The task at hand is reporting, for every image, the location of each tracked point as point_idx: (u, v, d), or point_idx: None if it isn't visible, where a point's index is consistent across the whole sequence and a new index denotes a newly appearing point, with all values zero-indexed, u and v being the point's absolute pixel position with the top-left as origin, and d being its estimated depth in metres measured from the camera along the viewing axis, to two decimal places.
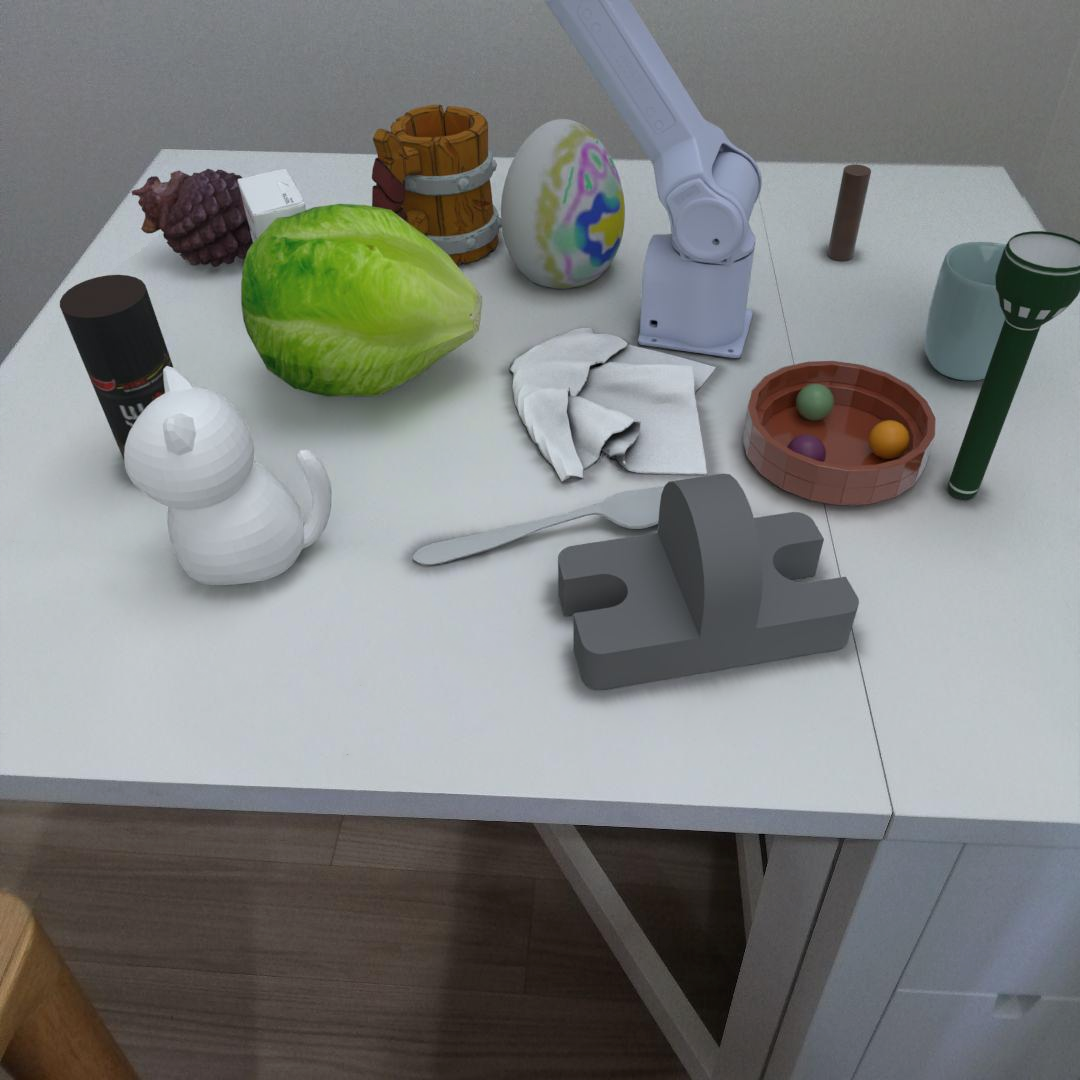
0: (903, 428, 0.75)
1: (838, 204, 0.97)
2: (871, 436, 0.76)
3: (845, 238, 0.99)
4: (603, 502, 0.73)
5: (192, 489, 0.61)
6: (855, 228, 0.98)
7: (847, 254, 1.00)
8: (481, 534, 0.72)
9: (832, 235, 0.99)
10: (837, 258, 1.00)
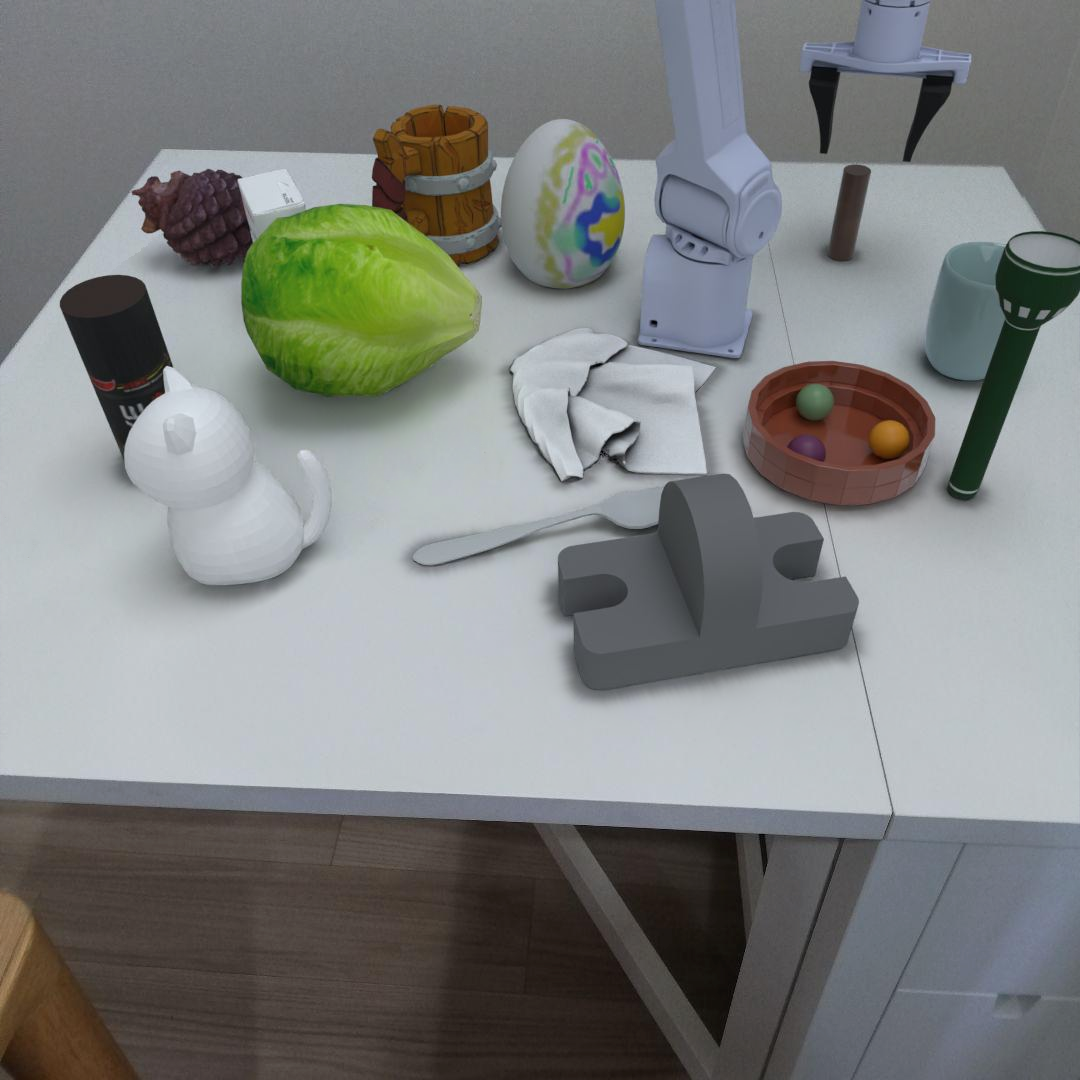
0: (903, 428, 0.75)
1: (838, 204, 0.97)
2: (871, 436, 0.76)
3: (845, 238, 0.99)
4: (603, 502, 0.73)
5: (193, 489, 0.61)
6: (855, 228, 0.98)
7: (847, 254, 1.00)
8: (481, 534, 0.72)
9: (832, 235, 0.99)
10: (837, 258, 1.00)
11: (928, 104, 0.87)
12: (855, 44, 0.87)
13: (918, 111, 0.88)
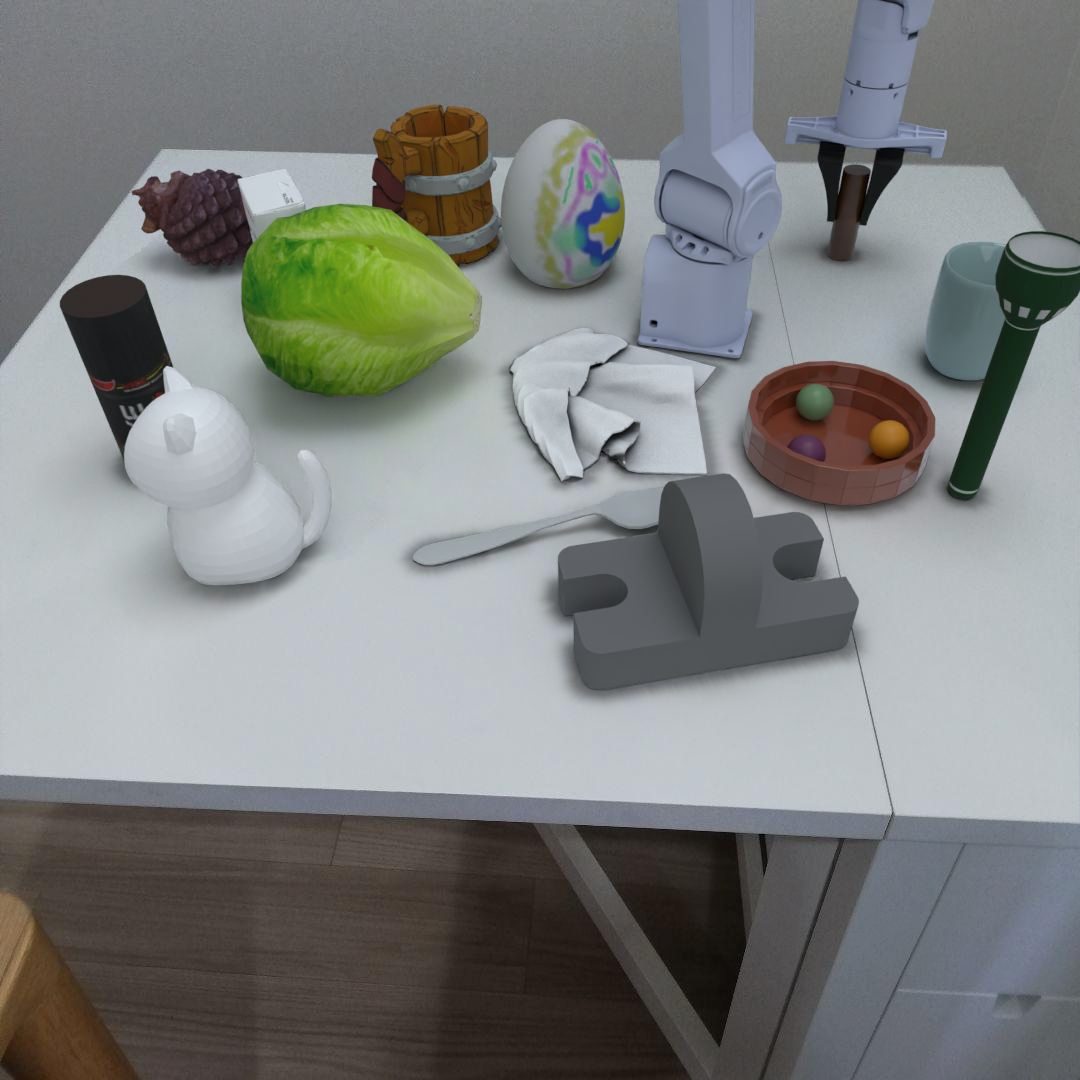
0: (903, 428, 0.75)
1: (838, 204, 0.97)
2: (871, 436, 0.76)
3: (844, 238, 0.99)
4: (603, 502, 0.73)
5: (193, 489, 0.61)
6: (855, 228, 0.98)
7: (847, 254, 1.00)
8: (481, 534, 0.72)
9: (832, 235, 0.99)
10: (837, 258, 1.00)
11: (881, 174, 0.92)
12: (837, 120, 0.92)
13: (872, 180, 0.93)
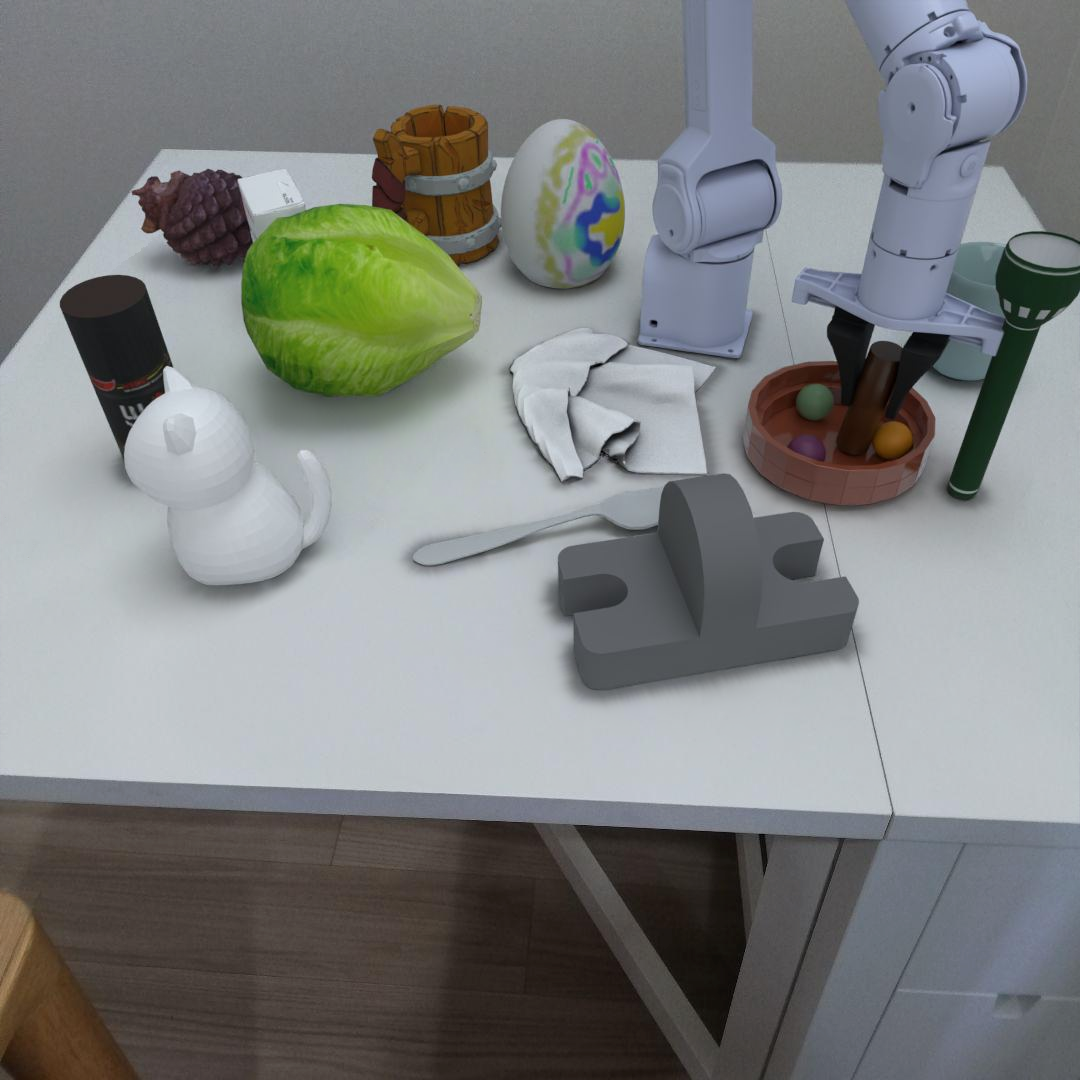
0: (908, 430, 0.75)
1: (857, 385, 0.73)
2: (876, 436, 0.75)
3: (856, 429, 0.75)
4: (603, 503, 0.73)
5: (193, 489, 0.61)
6: (872, 421, 0.74)
7: (857, 448, 0.76)
8: (481, 534, 0.72)
9: (844, 419, 0.76)
10: (844, 449, 0.76)
11: (911, 364, 0.68)
12: (859, 285, 0.68)
13: (900, 369, 0.69)
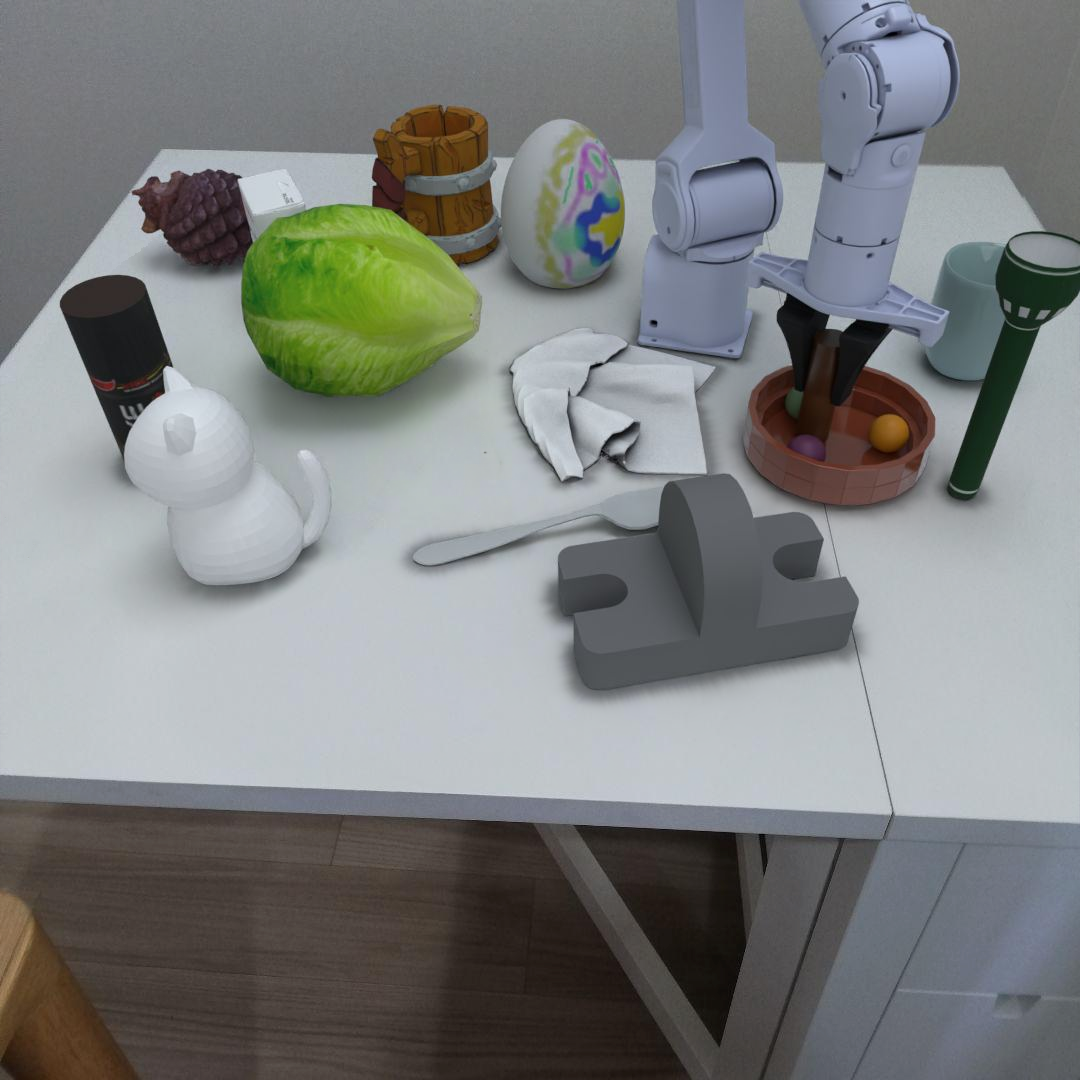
0: (902, 419, 0.76)
1: (807, 372, 0.75)
2: (871, 427, 0.76)
3: (807, 415, 0.76)
4: (603, 503, 0.73)
5: (193, 489, 0.61)
6: (820, 409, 0.75)
7: None
8: (481, 534, 0.72)
9: (800, 407, 0.77)
10: None
11: (850, 351, 0.69)
12: None
13: (841, 355, 0.70)
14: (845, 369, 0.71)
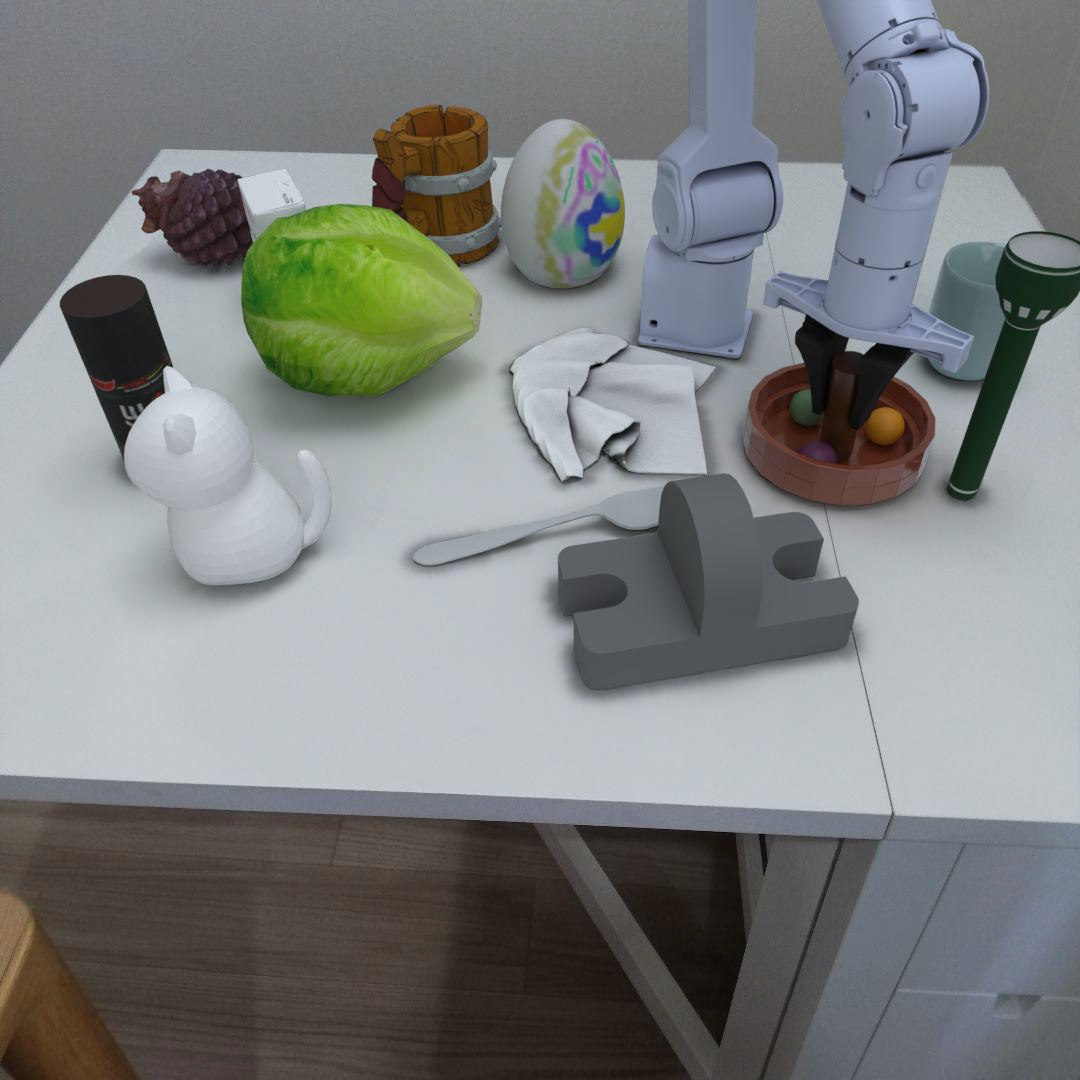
0: None
1: None
2: None
3: (832, 437, 0.74)
4: (603, 503, 0.73)
5: (193, 489, 0.61)
6: (846, 430, 0.73)
7: (837, 455, 0.76)
8: (481, 534, 0.72)
9: (822, 427, 0.75)
10: None
11: (870, 375, 0.67)
12: None
13: (860, 379, 0.68)
14: (865, 393, 0.69)
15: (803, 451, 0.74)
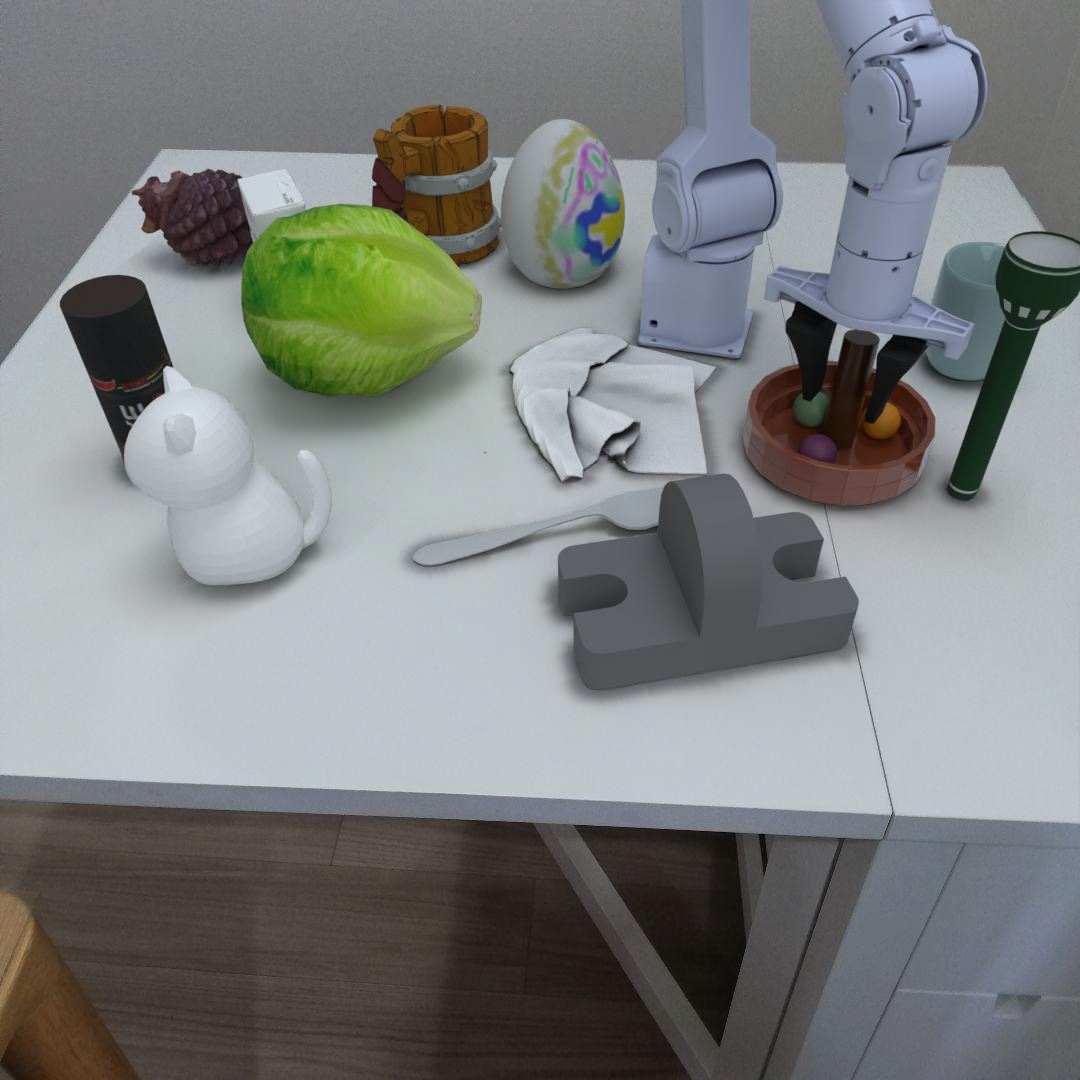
0: None
1: (835, 375, 0.75)
2: None
3: (838, 419, 0.76)
4: (603, 503, 0.73)
5: (193, 489, 0.61)
6: (852, 410, 0.75)
7: (840, 440, 0.77)
8: (481, 534, 0.72)
9: (826, 412, 0.77)
10: None
11: (887, 369, 0.68)
12: (827, 284, 0.69)
13: (877, 373, 0.69)
14: (881, 387, 0.70)
15: (804, 440, 0.75)
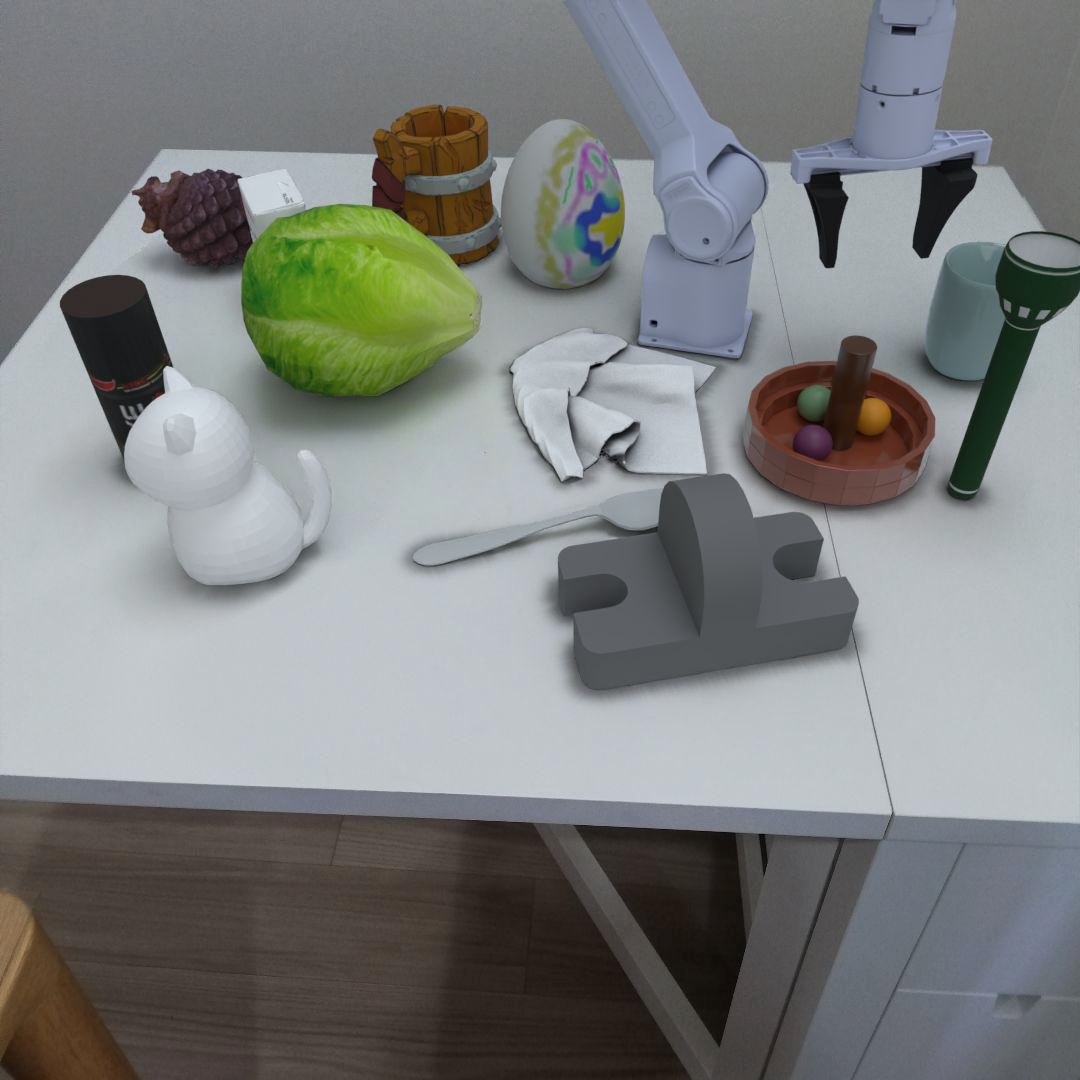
0: None
1: None
2: None
3: (836, 423, 0.76)
4: (603, 503, 0.73)
5: (193, 489, 0.61)
6: (850, 415, 0.75)
7: (839, 443, 0.77)
8: (481, 535, 0.72)
9: (825, 415, 0.77)
10: None
11: (954, 194, 0.74)
12: (861, 142, 0.72)
13: (942, 203, 0.75)
14: (942, 216, 0.76)
15: None
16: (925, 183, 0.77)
